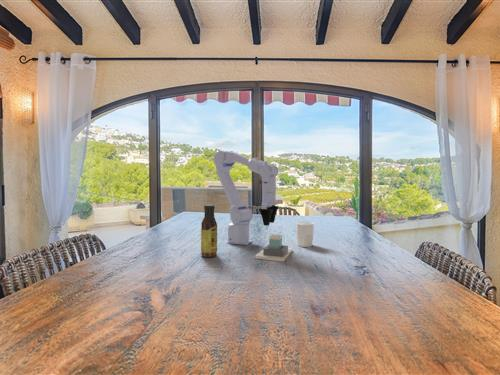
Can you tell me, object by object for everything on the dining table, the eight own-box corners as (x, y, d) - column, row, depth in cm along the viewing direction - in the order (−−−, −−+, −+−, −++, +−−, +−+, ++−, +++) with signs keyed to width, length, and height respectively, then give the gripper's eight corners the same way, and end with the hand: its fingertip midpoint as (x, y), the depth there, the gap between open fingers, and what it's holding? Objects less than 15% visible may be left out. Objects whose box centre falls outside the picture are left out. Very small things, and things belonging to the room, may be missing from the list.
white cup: (312, 243, 140) (313, 221, 139) (314, 247, 132) (314, 225, 132) (295, 242, 141) (295, 221, 140) (296, 247, 133) (296, 224, 132)
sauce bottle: (214, 258, 116) (214, 206, 114) (198, 257, 117) (198, 205, 116) (219, 253, 122) (219, 204, 121) (204, 252, 123) (204, 203, 122)
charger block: (269, 254, 118) (269, 236, 118) (272, 251, 122) (272, 234, 122) (279, 255, 117) (279, 237, 116) (281, 252, 121) (282, 235, 120)
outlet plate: (255, 258, 116) (255, 249, 116) (267, 248, 131) (267, 240, 131) (283, 261, 112) (283, 252, 112) (292, 250, 127) (292, 242, 127)
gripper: (273, 193, 122) (273, 227, 123) (282, 191, 136) (282, 221, 137) (256, 193, 125) (256, 226, 125) (267, 191, 138) (267, 220, 139)
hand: (269, 223), depth 131 cm, fingers open, 7 cm apart
